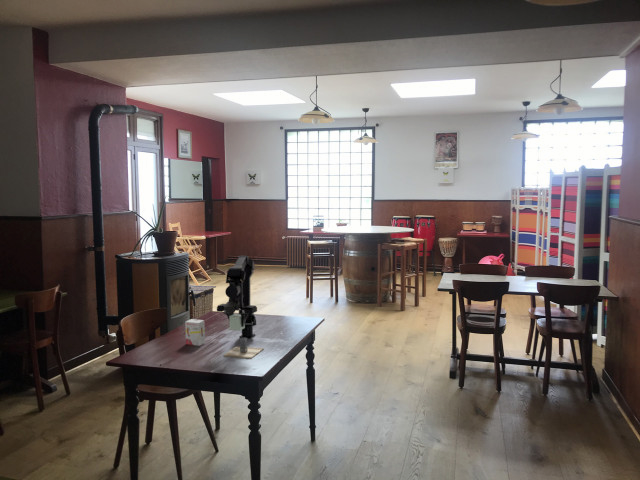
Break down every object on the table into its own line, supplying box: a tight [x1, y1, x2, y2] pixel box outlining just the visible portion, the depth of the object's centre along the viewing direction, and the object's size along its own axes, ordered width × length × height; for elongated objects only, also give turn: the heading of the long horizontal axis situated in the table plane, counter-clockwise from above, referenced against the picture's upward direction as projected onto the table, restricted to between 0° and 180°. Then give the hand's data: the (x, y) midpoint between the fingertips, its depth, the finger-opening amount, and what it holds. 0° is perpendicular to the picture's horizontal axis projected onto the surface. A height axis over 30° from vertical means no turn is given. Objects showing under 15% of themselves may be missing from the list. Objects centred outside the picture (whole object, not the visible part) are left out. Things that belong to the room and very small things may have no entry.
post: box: [239, 337, 248, 353], centre depth 243 cm, size 3×3×6 cm
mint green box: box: [228, 313, 245, 332], centre depth 245 cm, size 5×5×7 cm
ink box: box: [184, 318, 206, 347], centre depth 258 cm, size 9×5×12 cm, turn 68°
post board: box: [223, 345, 264, 360], centre depth 243 cm, size 14×14×1 cm
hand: (237, 326), depth 245 cm, fingers closed on mint green box, 5 cm apart
